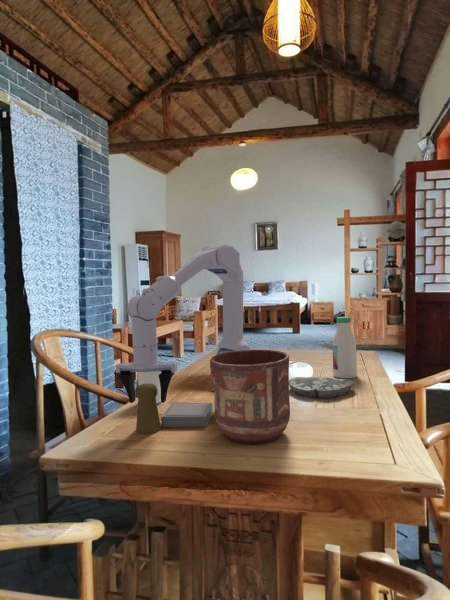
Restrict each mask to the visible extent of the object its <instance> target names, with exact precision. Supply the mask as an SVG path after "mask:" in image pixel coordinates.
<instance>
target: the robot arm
mask: <svg viewBox="0 0 450 600" xmlns="http://www.w3.org/2000/svg"><path fill="white" fill-rule="evenodd" d="M242 269H243V268H242V266H241V263H240V252H239V251H238V250H237V249H236V248H235V247H234V246H233V245H231V244H223V245H222V244H221V245H214V246H205V247H202V248H201V250H199V251H197V252H196V253H195V254H194V255H193V256H192V257H191V258H190V259H188V261H186V262H185V263H184V264H183V265H182V266H181V267H180V268H178V269H177V270H176V271H175V272H174V273H173V274H172V275H161V276H158V277H155V280H156V281H155V282H154V283H152V284H151V285H150V286H148V287H147V288H143V289H142V290H141V292H142V293H141V294H139V295H134V296H132V297H131V298H130V299H129V302H128V304H127V306H126V307H125V308H126V313H127V315H128V316H129V317H130V318H131V335H132V337H131V338H132V352H133V354H132V356H133V361H132V362H123V363H122V362H121V363H119V362H118V363H117V364H115V373H116V374H119V375H118V378H119V381H120V382H121V383H122V385H123V387H124V390H125V391H126V394H127V397H128V401H129V403H130V404H133V403H135V401H136V392H135V391H136V388H135V386H136V385H135V384H136V383H135V379H136V373H138V372H161V373H160V374H159V380H160V387H161V403H163V404H164V403H165V402H167V394H168V390H169V386H170V382H171V380H172V377H173V375H174V373H176V372H177V370H178V362H176V361H175V362H171V361H169V362H168V361H159V356H158V355H159V354H158V352H159V351H158V350H159V349H158V335H157V317H158V316H159V314H160V312H161V309H162V308H163V307H164V306H166V305H167V304H168V303H169V302H170V301H172V300H173V299H174V298H175V297H177V296H178V295H179V293H180V291H181V290H180V288H181V286H183V285H184V284H185V283H186V282H188V281H189V280H191V279H192V278H193V277H195V276H196V275H197V274H199V273H200V272H202V271H203V270H206V271H208V272H211V273H213V274H215V276H217V277H218V278H219V279H220V280H221V281H222V339H221V340H220V341H219V343H218V344H217V352H216V354H215V355H218V354H221V353H225V352H230V351H238V350H251V347H250V345H249V344H248V343H247V342H246V340H244V271H243V270H242ZM158 361H159V362H158ZM161 403H160V404H161Z"/></svg>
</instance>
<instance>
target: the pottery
mask: <svg viewBox="0 0 450 600" xmlns="http://www.w3.org/2000/svg"><path fill="white" fill-rule="evenodd" d="M209 364H210V365H209V366H210V370H211V377H212V382H213V383H212V384H213V393H214V404H213V405H214V419H215V421H216V422H215V423H216V424H217V426H218V428H219V429H220V431H221V432H222V433H223V434H224V436H226V437H227V438H228V439H229V440H230V441H232V442H235V443H238V444H243V445H263V444H267V443H268V444H269V443H271V442H274V441H276V440H278V438H279V437H281V435H282V434H283V433H284V432H285V430H286V429H287V428H288V427H287V426H288V424H289V421H290V418H291V404H290V403H291V402H290V385H289V380H290V379H289V378H290V372H289V371H290V354H288V353H286V352H283V351H280V350H273V349H250V350H238V351H230V352H225V353H221V354H218V355H216V354H215V355H214V356H213V355H212V357H211V358H210V359H209Z"/></svg>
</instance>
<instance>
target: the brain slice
mask: <svg viewBox="0 0 450 600" xmlns="http://www.w3.org/2000/svg"><path fill="white" fill-rule="evenodd" d="M354 385H355V381H354V380H353V379H349V378H348V379H344V378H337V377H330V376H296V377H295V376H294V377H292V378H290V379H289V389H291V391H292V392H293V393H295V394H299V395H302V396H305V397H308V398H319V399H327V398H334V397H342V396H344V395H346V394H347V393H348V392H349V391H350V390H351V389H352V388H353V386H354Z"/></svg>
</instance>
